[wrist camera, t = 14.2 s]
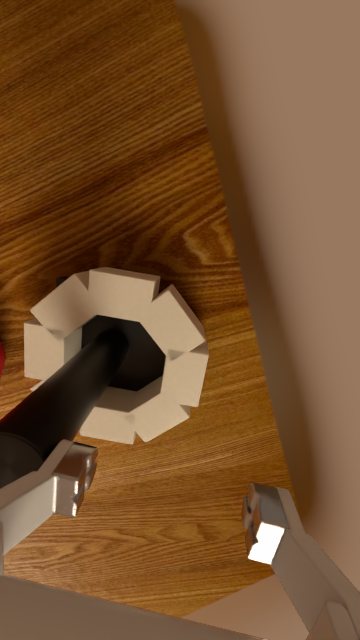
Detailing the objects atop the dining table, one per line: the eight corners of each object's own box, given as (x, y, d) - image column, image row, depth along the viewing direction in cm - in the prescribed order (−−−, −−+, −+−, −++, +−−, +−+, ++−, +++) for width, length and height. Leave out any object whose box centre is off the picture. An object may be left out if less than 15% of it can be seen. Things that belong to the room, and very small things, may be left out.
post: (180, 297, 21) (158, 374, 8) (162, 399, 23) (123, 577, 11) (64, 276, 21) (-146, 316, 8) (59, 380, 23) (-101, 533, 11)
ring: (218, 286, 19) (222, 292, 16) (188, 428, 23) (187, 455, 20) (48, 256, 19) (21, 258, 16) (46, 403, 23) (25, 425, 20)
